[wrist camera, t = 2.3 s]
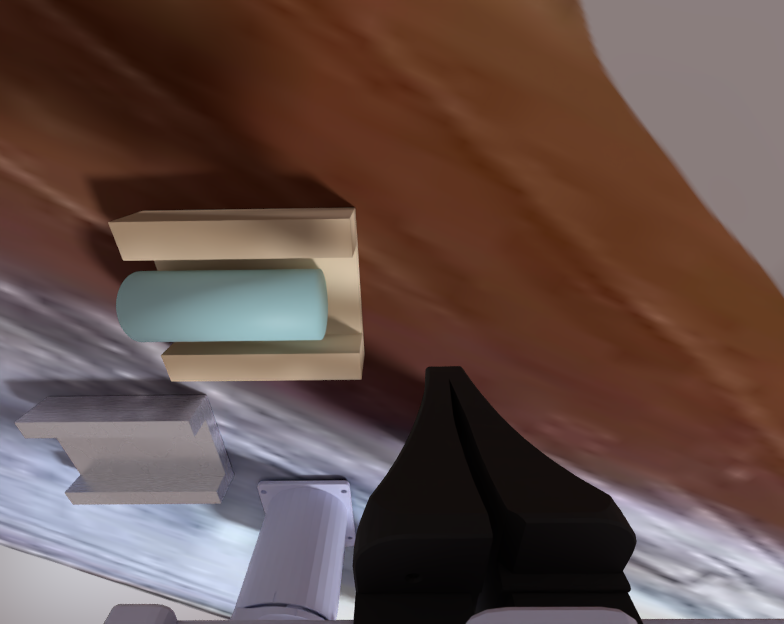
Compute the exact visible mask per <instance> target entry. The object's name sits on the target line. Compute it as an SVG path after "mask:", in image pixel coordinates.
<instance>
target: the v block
mask: <svg viewBox="0 0 784 624" xmlns="http://www.w3.org/2000/svg"><path fill="white" fill-rule="evenodd" d="M14 423H15V425H16V426H17V427H18V429H19V430H20V431H21V433H22V434H23V436H24V437H25V438H57V439H58V441H59V443H60V444H61V446H62V447H63V449H64V450H65V452H66V453H67V455H68V456H69V458H70V459H71V461H72V462H73V464H74V465H75V467H76V468H77V470H78V471H79V473H80V474H81V475H80V476H79V477H78V478H77V479H76V480H75V482H74V483H73V484H72V485H71V486H70V487H69V488H68V489H67V490H66V491H65V494H66V495H67V497H68V498H69V500H70V501H71V502H72V504H73V505H75V504H221V503H222V500H223V498H224V496H225V494H226V492H227V489H228V487H229V485H230V483H231V481H232V479H233V476H234V473H233V470H232V467H231V464H230V461H229V458H228V456H227V453H226V450H225V447H224V444H223V441H222V438H221V435H220V432H219V430H218V427H217V424H216V421H215V418H214V415H213V412H212V409H211V406H210V404H209V401H208V398H207V395H166V396H63V397H47V398H45V399H44V400H43V401H41V402H40V403H39V404H38V405H36V406H35V407H34V408H32V409H31V410H30V411H29V412H27V413H26V414H25V415H23V416H22V417H21V418H20V419H18V420H17V421H16V422H14Z"/></svg>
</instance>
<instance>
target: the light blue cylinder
mask: <svg viewBox="0 0 784 624" xmlns="http://www.w3.org/2000/svg"><path fill="white" fill-rule="evenodd" d="M116 310H117V317H118V320H119V323H120V325H121V327H122V329H123V330H124V332H125V333H126V334H127V335H128V336H129V337H130V338H131V339H133V340H135V341H138V342H200V341H289V340H322V339H323V338H324V335H325V332H326V327H327V318H328V296H327V286H326V281H325V277H324V274H323V271H322V270H321V269H265V270H190V271H138V272H134V273H132V274H130V275H129V276H128V277H127V278H126V279H125V280H124V281H123V283H122V284H121V286H120V289H119V291H118V295H117V301H116Z"/></svg>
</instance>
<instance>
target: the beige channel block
mask: <svg viewBox="0 0 784 624" xmlns="http://www.w3.org/2000/svg"><path fill="white" fill-rule="evenodd" d="M108 224H109V226H110V229H111V231H112V234H113V236H114V239H115V241H116V244H117V246H118V249H119V251H120V254H121V256H122V259H123V261H140V260H154V262H155V265H156V268H157V271H190V270H265V269H321V270H322V271H323V274H324V277H325V281H326V286H327V296H328V318H327V327H326V332H325V335H324V338H323V339H322V340H289V341H200V342H174V343H173V344H172V345H171V346H170V347H169V348H168V349H167V350H166V351H165V352H164V353H163V354H162V355H161V357H162V359H163V362H164V364H165V367H166V369H167V372H168V374H169V377H170V379H171V381H270V380H361V379H362V371H363V363H364V355H365V354H364V338H363V323H362V307H361V291H360V276H359V260H358V244H357V229H356V213H355V208H291V209H226V210H161V211H141V212H138V213H135V214H132V215H129V216H125V217H122V218H119V219H116V220H113V221H110V222H108Z"/></svg>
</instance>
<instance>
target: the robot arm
mask: <svg viewBox="0 0 784 624" xmlns="http://www.w3.org/2000/svg"><path fill="white" fill-rule="evenodd" d="M257 489H258V492H259V495H260V499H261V502H262V505H263V508H264V512H265V518H264V521H263V524H262V527H261V530H260V533H259V536H258V539H257V542H256V545H255V548H254V551H253V554H252V557H251V560H250V563H249V566H248V569H247V573H246V576H245V579H244V582H243V585H242V588H241V591H240V594H239V597H238V600H237V603H236V606H235V609H234V612H233V614H232V616H231V618H230V620H223V621H222V620H213V621H212V620H209V621H208V620H207V621H205V620H203V621H202V620H198V621H197V620H195V621H194V620H193V621H177V619H176V615H175V613H174V611H173V610H172V609H171V608H169V607H167V606H164V605H158V604H118V605H116V606H114V607H113V608H112V610H111V612H110V613H109V615H108V617H107V619H106V620H105V622H104V624H784V619H641V618H640V616H639V614H638V612H637V610H636V608H635V606H634V604H633V602H632V600H631V598H630V596H629V594H628V592H630V590H631V587H630V584H629V582H628V580H627V578H626V576H625V574H624V572H623V570H624V568H625V566H626V564H627V563H628V561H629V559H630V557H631V555H632V554H633V551H634V549H635V545H636V542H637V541H636V536H635V533H634V531H633V530H632V528H631V526H630V525H629V523H628V521H627V520H626V518H625V516H624V515H623V513H622V512H621V510H620V509H619V507H618V506H617V505H616V503H615V502H614V500H613V499H612V497H611V496H610V495H608V494H606V493H605V492H603V491H601V490H599V489H598V488H596V487H594V486H592V485H591V484H589V483H587V482H585V481H584V480H582V479H580V478H579V477H577V476H575V475H574V474H572V473H571V472H569V471H568V470H566V469H565V468H563V467H562V466H560V465H559V464H557V463H556V462H554V461H553V460H551V459H550V458H549V457H547V456H546V455H545V454H543V453H542V452H541V451H539V450H538V449H537V448H535V447H534V446H533V445H532V444H530V443H529V442H528V441H527V440H526V439H524V438H523V437H522V436H521V435H520V434H519V433H518V432H517V431H515V430H514V429H513V428H512V427H511V426H510V425H509V424H508V423H507V422H506V421H505V420H504V419H503V418H502V417H501V416H500V415H499V414H498V412H497V411H496V410H495V409H494V408H493V407H492V406H491V405H490V403H489V402H488V401H487V400H486V399H485V398H484V396H483V395H482V394H481V393H480V391H479V390H478V389H477V388H476V386H475V385H474V384H473V382H472V381H471V380H470V378H469V377H468V375H467V374H466V373H465V371H464V370H463V368H462V367H460V366H450V367H428V368H427V369H426V374H425V391H424V395H423V399H422V403H421V406H420V409H419V412H418V415H417V418H416V420H415V423H414V425H413V428H412V430H411V432H410V435H409V437H408V439H407V441H406V443H405V445H404V447H403V448H402V450H401V452H400V454H399V456H398V457H397V459H396V461H395V462H394V464H393V465H392V467H391V468H390V470H389V472H388V473H387V475H386V476H385V477H384V479H383V480H382V482H381V483H380V484H379V485H378V487H377V488H376V489H375V491H374V492H373V493H372V495H371V496H370V497H369V500H368V502H367V505H366V507H365V510H364V512H363V515H362V518H361V520H360V523H359V526H358V530H357V533H356V536H355V527H354V519H353V510H352V501H351V492H350V484H349V482H348V481H345V480H322V481H261V482H259V483H258V486H257ZM348 546H354V554H353V573H354V580H355V588H356V598H355V610H354V620H336V617H337V612H338V604H339V595H340V587H341V578H342V569H343V561H344V552H345V547H348Z"/></svg>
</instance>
